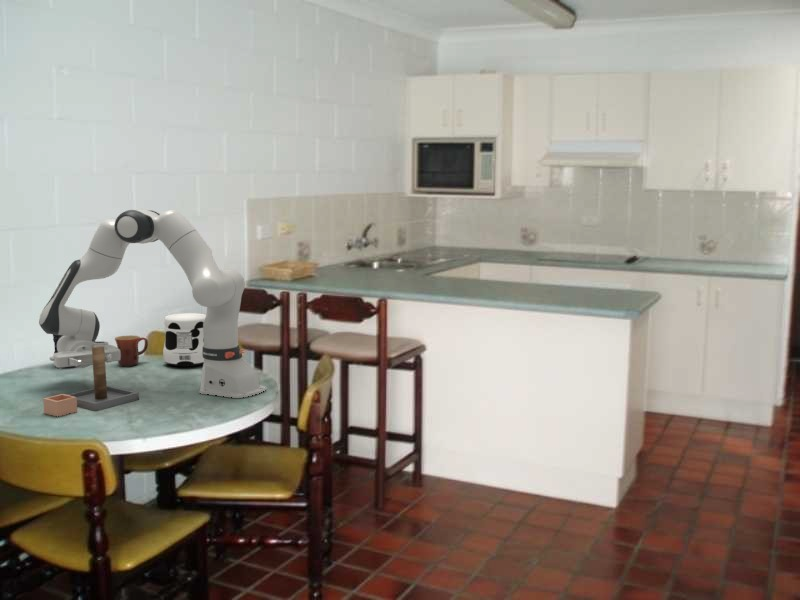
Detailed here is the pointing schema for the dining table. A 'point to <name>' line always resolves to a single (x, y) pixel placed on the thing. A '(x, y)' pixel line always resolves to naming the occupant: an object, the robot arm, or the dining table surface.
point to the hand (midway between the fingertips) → (94, 361)
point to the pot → (60, 405)
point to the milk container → (184, 339)
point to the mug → (129, 349)
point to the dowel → (99, 372)
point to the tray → (113, 398)
